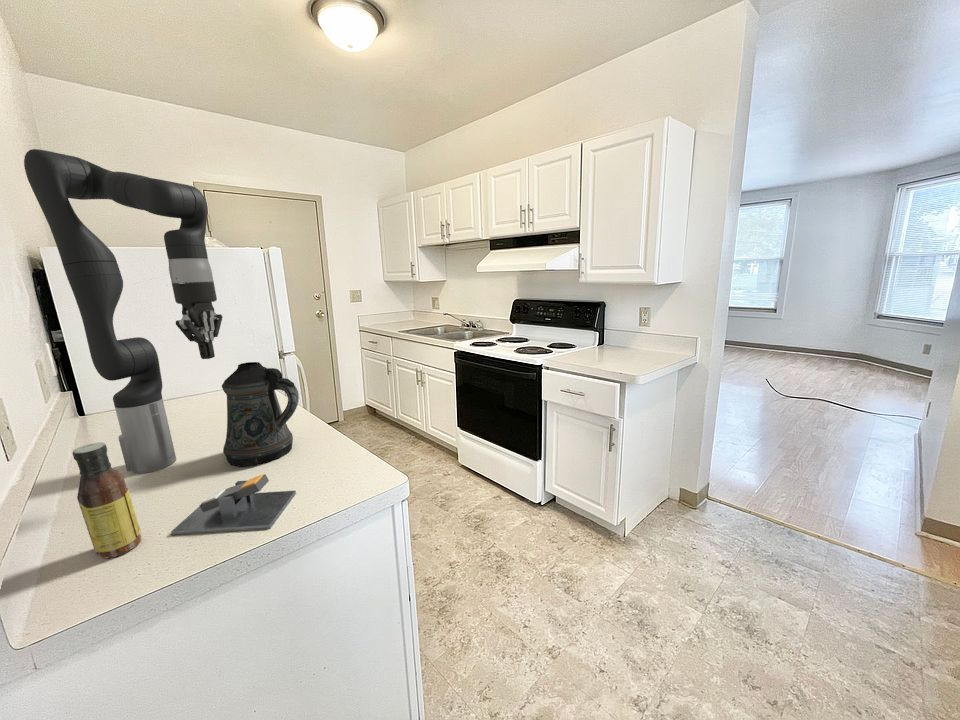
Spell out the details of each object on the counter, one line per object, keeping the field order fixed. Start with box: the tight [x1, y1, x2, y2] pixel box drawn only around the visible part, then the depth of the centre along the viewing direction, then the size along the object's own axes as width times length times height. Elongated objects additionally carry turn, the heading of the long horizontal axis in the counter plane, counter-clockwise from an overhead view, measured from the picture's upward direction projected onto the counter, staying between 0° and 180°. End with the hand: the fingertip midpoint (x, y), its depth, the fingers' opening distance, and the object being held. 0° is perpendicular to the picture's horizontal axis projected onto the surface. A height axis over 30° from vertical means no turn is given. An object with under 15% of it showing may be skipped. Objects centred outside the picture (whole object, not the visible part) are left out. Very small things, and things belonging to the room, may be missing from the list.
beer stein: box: [221, 361, 300, 468], centre depth 105 cm, size 16×19×25 cm
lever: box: [198, 474, 270, 512], centre depth 79 cm, size 12×4×2 cm, turn 92°
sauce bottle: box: [72, 441, 142, 559], centre depth 68 cm, size 6×6×20 cm
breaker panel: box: [170, 479, 297, 536], centre depth 79 cm, size 18×12×5 cm, turn 93°
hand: (208, 358), depth 90 cm, fingers closed
